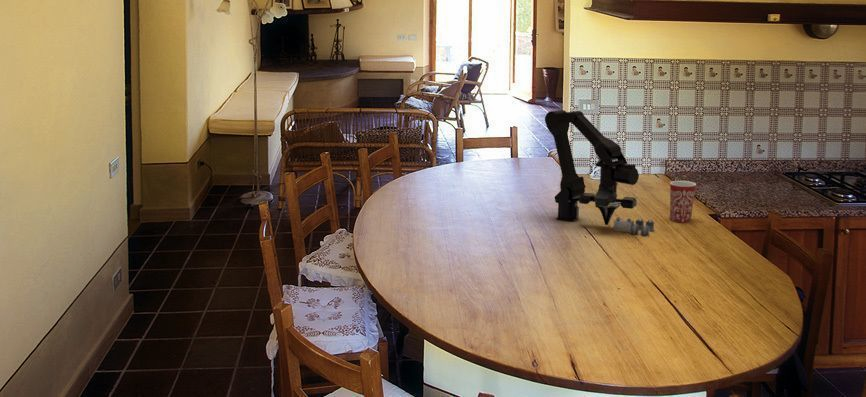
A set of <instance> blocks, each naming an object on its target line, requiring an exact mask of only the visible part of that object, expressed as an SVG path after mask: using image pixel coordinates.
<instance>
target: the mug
mask: <svg viewBox="0 0 866 397" xmlns="http://www.w3.org/2000/svg"><path fill="white" fill-rule="evenodd" d="M669 186H670V187H669V188H670V190H669V191H670V192H669V193H670V194H669V195H670V196H669V198H670V199H669V200H670V201H669V220H670V221H672V222H675V223H689V222H691V221H692V214H693V206H694V201H695V194H696V192H695V191H696V186H697V183H696V182H693V181H689V180H672V181H670V182H669Z"/></svg>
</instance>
